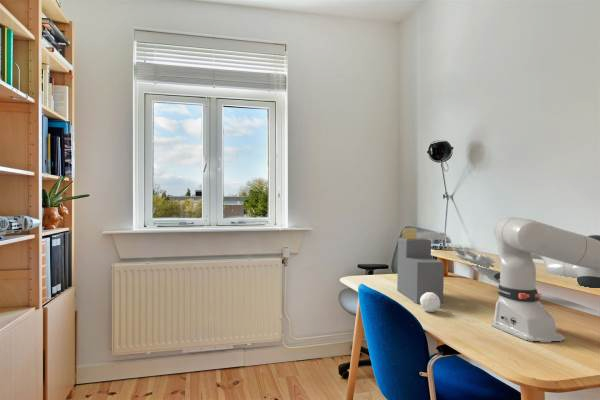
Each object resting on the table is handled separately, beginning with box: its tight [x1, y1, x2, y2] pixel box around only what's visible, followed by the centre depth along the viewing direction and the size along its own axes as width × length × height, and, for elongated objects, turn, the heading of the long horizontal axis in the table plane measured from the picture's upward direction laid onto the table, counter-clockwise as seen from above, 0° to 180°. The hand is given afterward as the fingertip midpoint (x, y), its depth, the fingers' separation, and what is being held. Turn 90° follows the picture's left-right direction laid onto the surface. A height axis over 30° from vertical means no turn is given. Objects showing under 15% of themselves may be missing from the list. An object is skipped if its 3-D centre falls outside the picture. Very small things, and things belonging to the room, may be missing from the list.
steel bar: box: [401, 227, 447, 241], centre depth 173 cm, size 5×20×5 cm, turn 97°
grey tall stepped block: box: [396, 237, 445, 305], centre depth 167 cm, size 22×12×26 cm, turn 7°
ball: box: [419, 292, 441, 313], centre depth 145 cm, size 8×8×8 cm
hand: (459, 249), depth 175 cm, fingers open, 8 cm apart
